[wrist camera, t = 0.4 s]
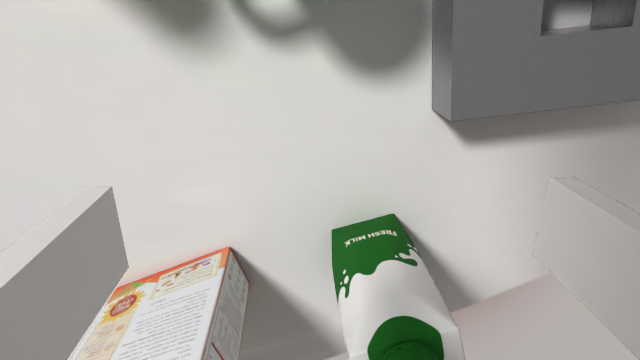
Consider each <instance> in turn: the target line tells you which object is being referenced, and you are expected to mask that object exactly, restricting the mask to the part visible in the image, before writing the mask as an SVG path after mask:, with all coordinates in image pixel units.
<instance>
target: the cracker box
mask: <svg viewBox="0 0 640 360" xmlns="http://www.w3.org/2000/svg"><path fill="white" fill-rule="evenodd" d="M249 286H250V284H249V282H248V280H247V278H246V276H245V275H244V273H243V271H242V269H241V267H240V265H239V264H238V262H237V260H236V258H235V256H234V254H233V253H232V251H231V249H230V247H226V248H224V249H221V250H218V251H216V252H213V253H210V254H207V255H205V256H202V257H199V258H197V259H194V260H191V261H189V262H186V263H183V264H181V265H178V266H175V267H173V268H170V269H167V270H164V271H162V272H159V273H156V274H154V275H151V276H148V277H145V278H143V279H140V280H138V281H135V282H132V283H129V284H127V285H124V286H121V287H119V288H117V289H116V290H115V291H114V293H113V295H112V296H111V297H110V299H109V301H108V302H107V304H106V305H105V307H104V308H103V310H102V311H101V313H100V315H99V316H98V318H97V319H96V321H95V322H94V324H93V326H92V327H91V329H90V330H89V332H88V333H87V335H86V337H85V338H84V340H83V341H82V343H81V344H80V346H79V347H78V349H77V351H76V352H75V354H74V355H73V357H72V358H71V360H239V355H240V348H241V341H242V334H243V327H244V320H245V314H246V307H247V300H248V293H249Z"/></svg>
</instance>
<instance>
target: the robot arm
mask: <svg viewBox="0 0 640 360" xmlns="http://www.w3.org/2000/svg"><path fill="white" fill-rule="evenodd" d="M532 255H533V256H534V257H535V258H536V259H537V260H538V261H540V262H541V263H542V264H543V265H544V266H545V267H546V268H547V269H548V270H549V271H550V272H551V273H552V274H553V275H554V276H555V277H556V278H557V279H558V280H559V281H560V282H561V283H562V284H563V285H564V286H565V287H566V288H567V289H568V290H569V291H570V292H571V293H572V294H573V295H574V296H575V297H576V298H577V299H578V300H579V301H580V302H581V303H582V304H583V305H584V306H585V307H586V308H587V309H588V310H589V311H590V312H591V313H592V314H593V315H595V317H596V318H597V319H599V321H600V322H602V324H603V325H605V326H606V327H607V328H608V329H609V330H610V331H611V332H612V333H613V334H614V335H615V336H616V337H617V338H618V339H619V340H620V341H621V342H622V343H623V344H624V345H625V346H626V347H627V348H628V349H629V350H630V351H631V352H632V353H633V354H634V355H635V356H636V357H637V358H638V359H639V360H640V214H639V213H638V212H636V211H634V210H632V209H630V208H629V207H627V206H625V205H623V204H621V203H620V202H618V201H616V200H614V199H613V198H611V197H609V196H607V195H605V194H604V193H602V192H600V191H598V190H597V189H595V188H593V187H591V186H589V185H588V184H586V183H584V182H582V181H581V180H579V179H577V178H575V177H550V181H549V185H548V189H547V194H546V198H545V202H544V206H543V210H542V215H541V219H540V223H539V227H538V232H537V236H536V240H535V244H534V249H533V253H532ZM128 267H129V266H128V261H127V257H126V252H125V247H124V242H123V237H122V233H121V228H120V223H119V218H118V213H117V209H116V204H115V199H114V194H113V189H112V186H98V187H84V188H82V189H81V190H80V191H79V192H77V193H76V194H75V195H74V196H72V197H71V198H70V199H69V200H67V201H66V202H65V203H63V204H62V205H61V206H60V207H58V208H57V209H56V210H55V211H53V212H52V213H51V214H50V215H48V216H47V217H46V218H45V219H43V220H42V221H41V222H40V223H38V224H37V225H36V226H35V227H33V228H32V229H31V230H30V231H28V232H27V233H26V234H25V235H23V236H22V237H21V238H20V239H18V240H17V241H16V242H15V243H13V244H12V245H11V246H10V247H8V248H7V249H6V250H5V251H3V252H2V253H1V254H0V360H67V359H68V357H69V356H70V354H71V353H72V351H73V350H74V348H75V347H76V345H77V344H78V342H79V341H80V339H81V338H82V336H83V335H84V333H85V332H86V330H87V329H88V327H89V326H90V324H91V323H92V321H93V320H94V318H95V317H96V315H97V314H98V312H99V311H100V309H101V308H102V306H103V305H104V303H105V302H106V300H107V299H108V297H109V296H110V294H111V293H112V291H113V290H114V288H115V287H116V285H117V284H118V282H119V281H120V279H121V278H122V276H123V275H124V273H125V272H126V270H127V269H128Z"/></svg>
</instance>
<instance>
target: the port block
mask: <svg viewBox="0 0 640 360" xmlns="http://www.w3.org/2000/svg"><path fill="white" fill-rule="evenodd" d="M543 4H544V0H433V13H432V110H434V111H435V112H437V113H438V114H440V115H442V116H443V117H445V118H446V119H448V120H449V121H457V120H466V119H475V118H484V117H492V116H501V115H510V114H519V113H528V112H537V111H545V110H554V109H563V108H572V107H581V106H589V105H598V104H607V103H616V102H625V101H633V100H640V0H593V7H592V14H591V21H590V26H581V27H572V28H563V29H554V30H545V31H541V24H542V14H543Z"/></svg>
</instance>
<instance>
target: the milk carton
mask: <svg viewBox="0 0 640 360" xmlns="http://www.w3.org/2000/svg"><path fill="white" fill-rule="evenodd" d="M332 266H333V275H334V283H335V289H336V296H337V302H338V309H339V315H340V321H341V327H342V333H343V337H344V342H345V346H346V349H347V353H348V356H349V358H348V359H347V360H465V355H464V351H463V345H462V340H461V336H460V331H459V329H458V327H457V325H456V323H455V321H454V319H453V317H452V315H451V313H450V311H449V309H448V307H447V305H446V303H445V301H444V299H443V297H442V295H441V294H440V292H439V290H438V288H437V286H436V284H435V283H434V281H433V279H432V277H431V275H430V273H429V271H428V270H427V268H426V266H425V264H424V262H423V260H422V258H421V257H420V255H419V253H418V251H417V249H416V248H415V246H414V244H413V242H412V241H411V239H410V238H409V236H408V235H407V233H406V232H405V230H404V229H403V227H402V226H401V224H400V223H399V221H398V220H397V218H396V217H395V215H394V214H390V215H386V216H382V217H378V218H375V219H371V220H367V221H363V222H360V223H356V224H352V225H349V226H345V227H341V228H337V229H334V230H332Z"/></svg>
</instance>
